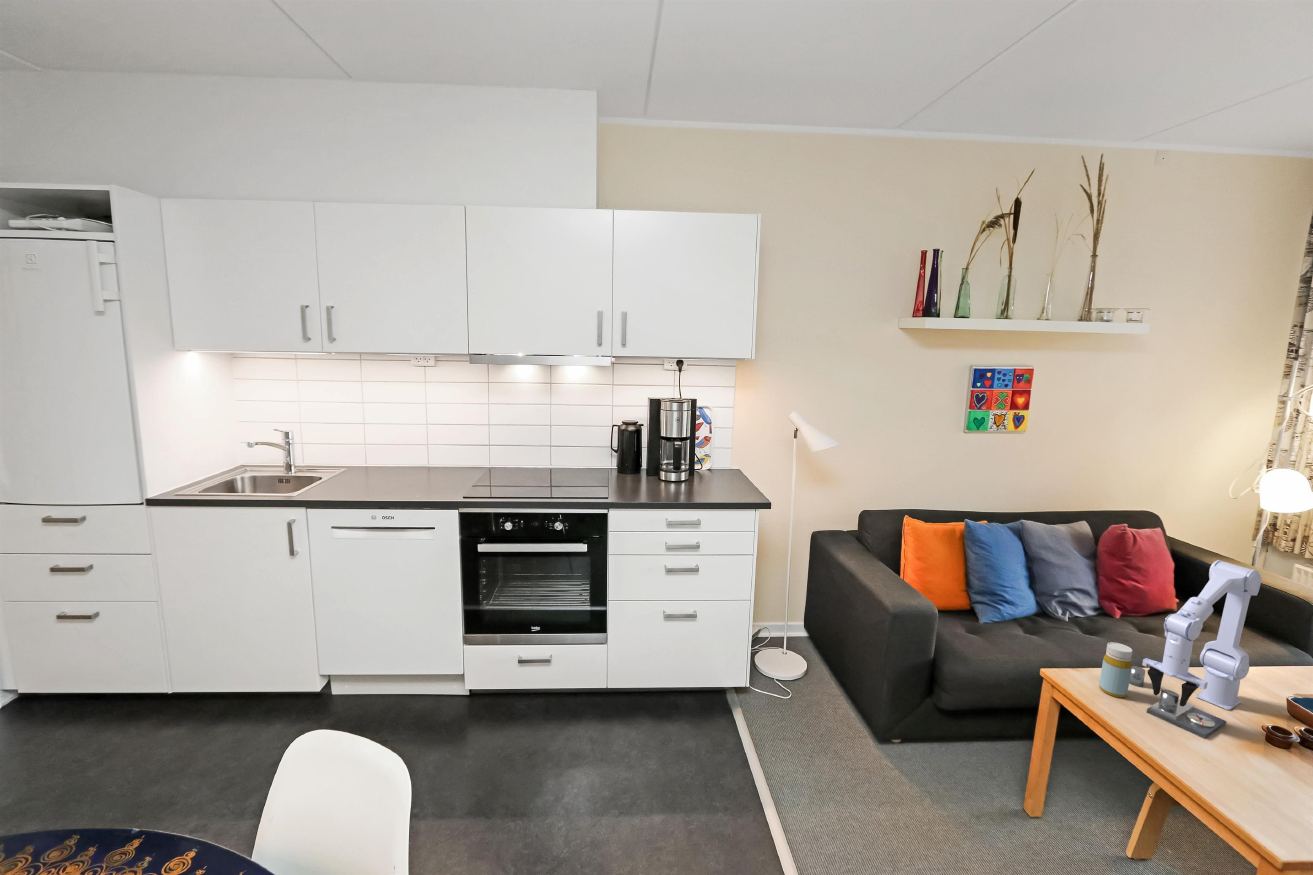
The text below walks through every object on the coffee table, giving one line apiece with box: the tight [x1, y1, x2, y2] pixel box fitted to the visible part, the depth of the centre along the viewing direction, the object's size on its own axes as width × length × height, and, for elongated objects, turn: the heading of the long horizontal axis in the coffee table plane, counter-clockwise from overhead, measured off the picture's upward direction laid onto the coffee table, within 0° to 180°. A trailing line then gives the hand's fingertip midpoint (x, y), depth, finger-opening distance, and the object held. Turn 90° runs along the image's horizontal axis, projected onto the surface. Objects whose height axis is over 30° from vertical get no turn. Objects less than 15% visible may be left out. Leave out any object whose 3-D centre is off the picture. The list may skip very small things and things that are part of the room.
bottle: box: [1099, 641, 1133, 699], centre depth 186 cm, size 7×7×15 cm
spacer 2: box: [1158, 688, 1180, 713], centre depth 175 cm, size 4×4×5 cm
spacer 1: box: [1129, 665, 1146, 688], centre depth 193 cm, size 4×4×5 cm
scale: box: [1146, 698, 1227, 739], centre depth 175 cm, size 14×14×2 cm
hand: (1169, 699), depth 175 cm, fingers open, 6 cm apart
